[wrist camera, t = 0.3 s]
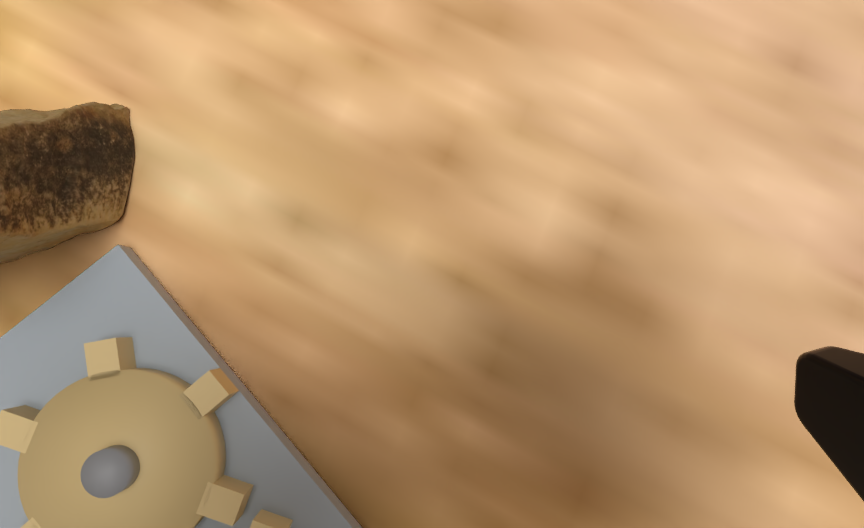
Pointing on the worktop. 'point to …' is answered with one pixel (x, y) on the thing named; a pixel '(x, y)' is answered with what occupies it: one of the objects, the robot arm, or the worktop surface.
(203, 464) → the gear board
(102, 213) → the rock
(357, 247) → the worktop surface
